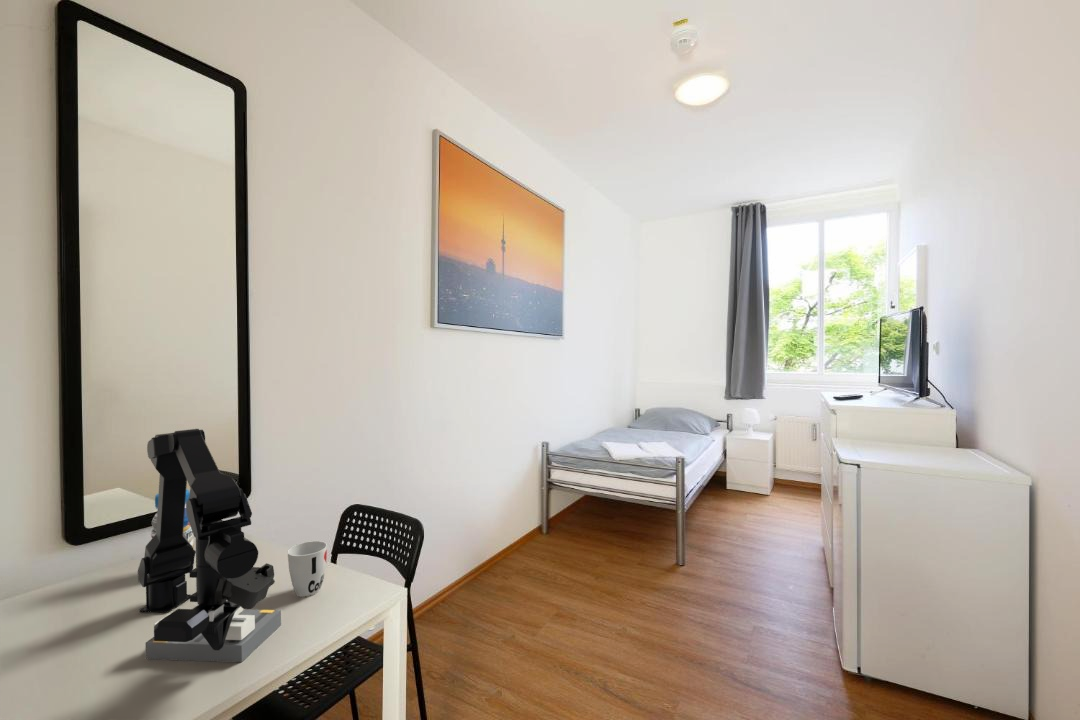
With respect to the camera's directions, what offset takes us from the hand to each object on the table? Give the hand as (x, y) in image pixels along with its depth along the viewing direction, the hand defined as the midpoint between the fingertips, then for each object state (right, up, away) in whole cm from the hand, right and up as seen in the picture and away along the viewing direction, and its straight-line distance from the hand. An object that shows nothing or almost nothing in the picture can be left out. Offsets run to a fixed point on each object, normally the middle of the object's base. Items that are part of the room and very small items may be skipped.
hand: (218, 649), depth 78 cm
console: (-6, -4, +8) cm, 11 cm away
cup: (+2, -4, +26) cm, 26 cm away
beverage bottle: (-37, -4, +36) cm, 52 cm away
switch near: (-13, 0, +6) cm, 14 cm away
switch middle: (-6, 0, +11) cm, 12 cm away
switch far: (0, 0, +5) cm, 5 cm away
